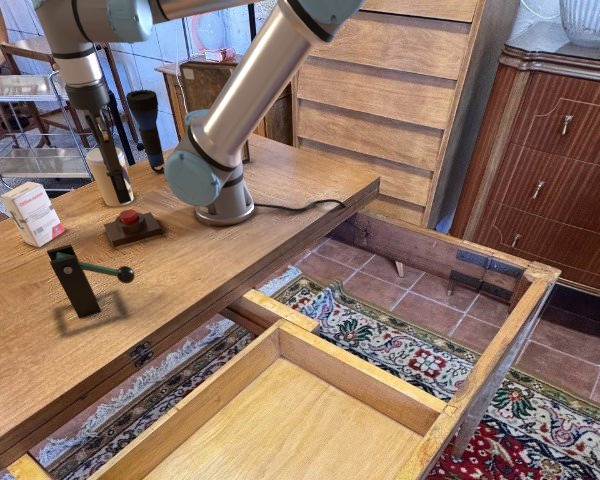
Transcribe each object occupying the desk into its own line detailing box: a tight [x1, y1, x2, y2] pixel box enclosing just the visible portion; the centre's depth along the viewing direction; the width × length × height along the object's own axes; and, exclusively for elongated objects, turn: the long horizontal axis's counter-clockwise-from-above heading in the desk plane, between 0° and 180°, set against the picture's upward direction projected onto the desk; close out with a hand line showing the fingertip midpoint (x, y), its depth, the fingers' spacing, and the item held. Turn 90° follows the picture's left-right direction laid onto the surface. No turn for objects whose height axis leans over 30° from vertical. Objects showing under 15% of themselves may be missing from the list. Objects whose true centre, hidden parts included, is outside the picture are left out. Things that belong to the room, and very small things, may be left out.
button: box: [118, 209, 138, 224], centre depth 106 cm, size 4×4×2 cm
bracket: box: [46, 243, 102, 319], centre depth 85 cm, size 12×9×14 cm
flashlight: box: [125, 89, 166, 174], centre depth 124 cm, size 8×8×20 cm
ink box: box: [0, 181, 65, 248], centre depth 105 cm, size 9×5×12 cm, turn 152°
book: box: [178, 60, 252, 168], centre depth 126 cm, size 17×7×25 cm, turn 65°
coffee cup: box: [85, 146, 134, 207], centre depth 117 cm, size 9×9×12 cm
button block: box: [103, 211, 163, 248], centre depth 108 cm, size 12×9×4 cm
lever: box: [56, 252, 136, 285], centre depth 85 cm, size 14×3×3 cm
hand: (125, 201), depth 103 cm, fingers closed
